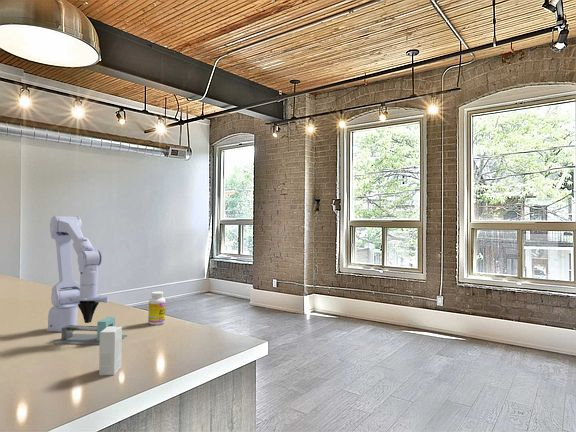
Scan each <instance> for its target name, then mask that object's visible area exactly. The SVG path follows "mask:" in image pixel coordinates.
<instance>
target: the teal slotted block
mask: <svg viewBox="0 0 576 432" xmlns="http://www.w3.org/2000/svg"><path fill="white" fill-rule="evenodd" d="M96 326H97V331H96V334H97V341H100V332H101V331H102V330H104V329H105V328H106V327H108V326H116V316H105V317H103V318H102V319H99V320H97V325H96Z"/></svg>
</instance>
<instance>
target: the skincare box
mask: <svg viewBox="0 0 576 432" xmlns="http://www.w3.org/2000/svg"><path fill="white" fill-rule="evenodd" d="M121 326H122V325H115V326H109V327H106V328H105V329H104V330H102V331H101V332H100V345H99V351H98V352H99V353H98V355H99V359H98V361H99V366H98V367H99V368H98V373H99V376H114V375H116V373H118V372H119V370H120V369H122V364H123V363H122V351H123V349H122V348H123V347H122V346H123V345H122V344H123V341H122V340H123V339H122V335H123V326H122V327H121Z"/></svg>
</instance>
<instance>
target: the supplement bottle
mask: <svg viewBox="0 0 576 432" xmlns="http://www.w3.org/2000/svg"><path fill="white" fill-rule="evenodd" d="M147 317H148V319H147V320H148V325H151V326H160V325H163V324H164V323H166V299H165V298H164V292H163V291H160V290H159V291H152V292H151V297H150V299H149V300H148V316H147Z"/></svg>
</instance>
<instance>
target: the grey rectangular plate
mask: <svg viewBox="0 0 576 432" xmlns="http://www.w3.org/2000/svg"><path fill="white" fill-rule="evenodd" d="M126 337H128V335H127V334H122V340H123V339H125V338H126ZM53 344H54V345H55V344H56V345H84V346H85V345H87V346H91V345H92V346H100V341H97V333H96V334H95V333H93V334H91V333H73V337H71V338H69V339H67V340H61V339H59V340H56V341H55V342H53Z"/></svg>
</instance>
